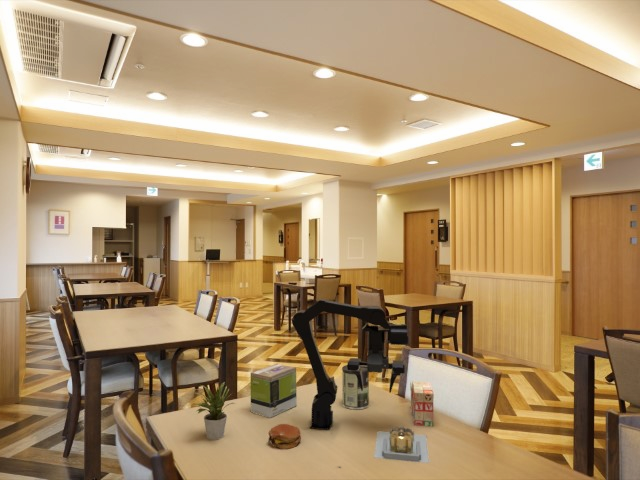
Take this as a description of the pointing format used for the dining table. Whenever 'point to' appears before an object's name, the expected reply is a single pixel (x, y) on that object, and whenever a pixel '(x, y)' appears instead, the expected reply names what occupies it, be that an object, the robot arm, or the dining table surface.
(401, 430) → the gear
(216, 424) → the house plant
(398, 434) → the brass gear
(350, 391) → the coffee can
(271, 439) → the burger
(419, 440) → the gear board
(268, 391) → the tea box
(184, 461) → the dining table surface
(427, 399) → the stack of blocks
